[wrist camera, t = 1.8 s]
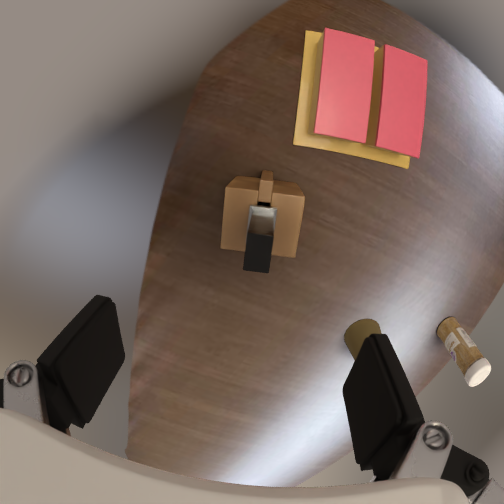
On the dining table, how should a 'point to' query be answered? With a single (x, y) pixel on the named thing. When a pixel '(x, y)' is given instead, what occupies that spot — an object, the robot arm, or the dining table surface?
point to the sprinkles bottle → (464, 351)
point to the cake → (360, 98)
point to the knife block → (277, 195)
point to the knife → (259, 238)
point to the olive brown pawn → (360, 334)
